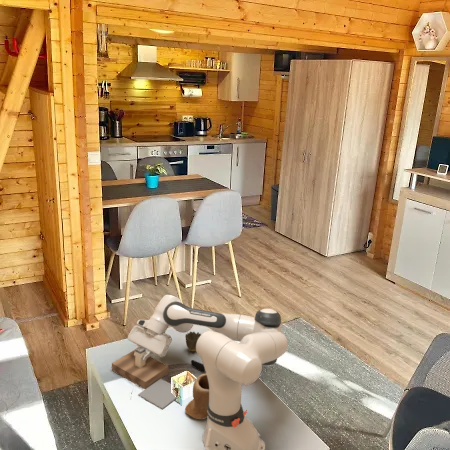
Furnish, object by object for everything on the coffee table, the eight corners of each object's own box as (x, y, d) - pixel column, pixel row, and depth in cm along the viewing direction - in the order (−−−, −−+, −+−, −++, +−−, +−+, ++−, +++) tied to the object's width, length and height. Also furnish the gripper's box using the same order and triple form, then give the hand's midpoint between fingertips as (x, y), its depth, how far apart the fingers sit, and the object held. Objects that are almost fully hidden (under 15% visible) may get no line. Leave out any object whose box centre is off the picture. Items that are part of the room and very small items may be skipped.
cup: (182, 353, 212) (182, 337, 210) (188, 344, 219) (188, 330, 216) (197, 356, 210) (198, 341, 208) (203, 348, 217) (203, 333, 214)
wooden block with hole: (168, 373, 197) (168, 366, 196) (145, 389, 186) (145, 382, 185) (135, 355, 208) (135, 349, 207) (111, 370, 197) (111, 363, 196)
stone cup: (205, 427, 168) (207, 392, 163) (180, 413, 174) (181, 379, 169) (228, 405, 180) (231, 372, 175) (204, 393, 186) (206, 361, 181)
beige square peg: (145, 369, 197) (145, 348, 194) (140, 373, 195) (140, 351, 191) (140, 367, 199) (140, 346, 196) (135, 370, 196) (135, 349, 193)
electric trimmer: (194, 363, 205) (194, 357, 205) (222, 376, 197) (223, 370, 196) (189, 367, 202) (189, 361, 202) (217, 381, 194) (217, 374, 193)
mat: (184, 392, 185) (184, 391, 185) (162, 409, 175) (162, 408, 175) (160, 379, 192) (160, 378, 192) (138, 395, 182) (138, 394, 182)
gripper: (177, 339, 196) (161, 369, 191) (142, 323, 207) (126, 351, 202) (170, 334, 191) (153, 365, 186) (135, 318, 202) (118, 347, 197)
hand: (139, 358), depth 194 cm, fingers closed on beige square peg, 3 cm apart
